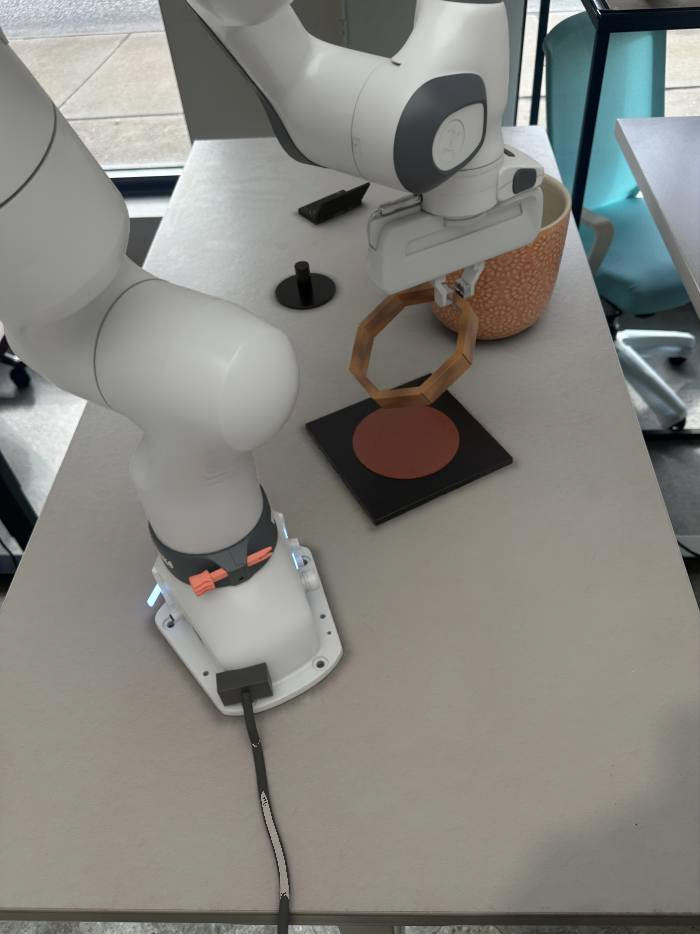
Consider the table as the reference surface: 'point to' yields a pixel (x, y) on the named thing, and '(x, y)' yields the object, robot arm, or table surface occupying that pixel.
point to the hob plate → (406, 451)
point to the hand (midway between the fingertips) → (454, 299)
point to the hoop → (441, 376)
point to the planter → (517, 275)
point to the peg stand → (305, 289)
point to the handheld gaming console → (334, 204)
